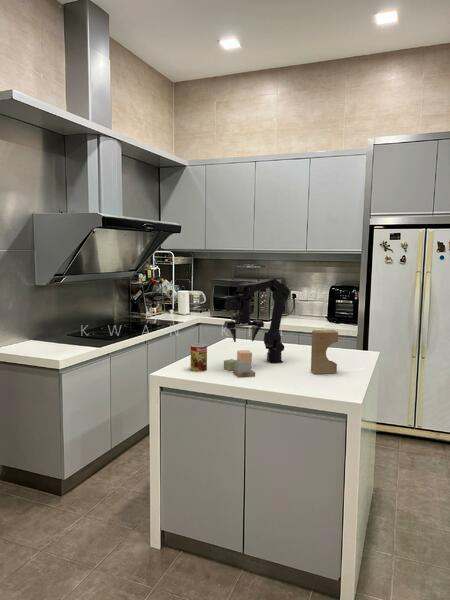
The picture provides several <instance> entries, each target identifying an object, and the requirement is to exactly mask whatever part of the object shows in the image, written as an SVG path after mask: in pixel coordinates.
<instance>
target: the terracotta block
mask: <svg viewBox="0 0 450 600" xmlns="http://www.w3.org/2000/svg"><path fill="white" fill-rule="evenodd" d="M236 360H238V361H239V362H240V363H251V364H252V363H253V352H251V351H250V350H249V349H248V350H247V349H246V350H237V352H236Z"/></svg>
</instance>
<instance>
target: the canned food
mask: <svg viewBox="0 0 450 600" xmlns="http://www.w3.org/2000/svg"><path fill="white" fill-rule="evenodd" d="M190 371H192V372H196V373H199V372H200V373H201V372H206V371H208V344H205V343H202V342H201V343H192V344H190Z"/></svg>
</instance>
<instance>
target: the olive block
mask: <svg viewBox="0 0 450 600" xmlns="http://www.w3.org/2000/svg"><path fill="white" fill-rule="evenodd" d="M235 360H236V359H233V358H230V359H225V360H223V370H225V371H228V372H230V373H231V372H233V369H235Z"/></svg>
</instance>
